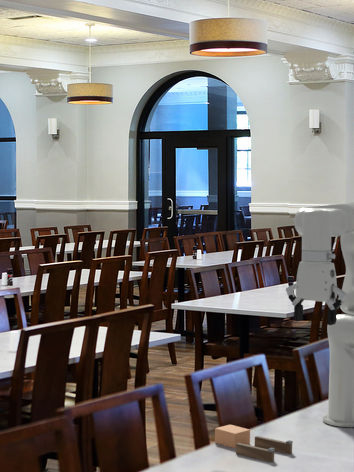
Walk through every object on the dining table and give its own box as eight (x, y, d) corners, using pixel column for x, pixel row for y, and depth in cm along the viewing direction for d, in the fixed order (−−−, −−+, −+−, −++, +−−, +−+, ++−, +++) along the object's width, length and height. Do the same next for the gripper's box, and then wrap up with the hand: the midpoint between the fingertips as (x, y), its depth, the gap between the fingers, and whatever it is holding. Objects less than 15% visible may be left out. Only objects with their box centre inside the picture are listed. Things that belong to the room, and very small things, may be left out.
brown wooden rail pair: (257, 445, 224) (257, 433, 224) (292, 453, 218) (292, 440, 218) (235, 453, 216) (235, 441, 216) (271, 462, 210) (271, 449, 210)
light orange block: (229, 439, 230) (230, 424, 230) (249, 444, 225) (250, 429, 225) (214, 443, 226) (215, 428, 226) (234, 449, 221) (235, 433, 221)
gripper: (353, 258, 220) (351, 324, 221) (294, 254, 231) (293, 317, 232) (339, 260, 215) (338, 328, 216) (280, 256, 225) (279, 320, 226)
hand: (315, 322), depth 224 cm, fingers open, 9 cm apart
